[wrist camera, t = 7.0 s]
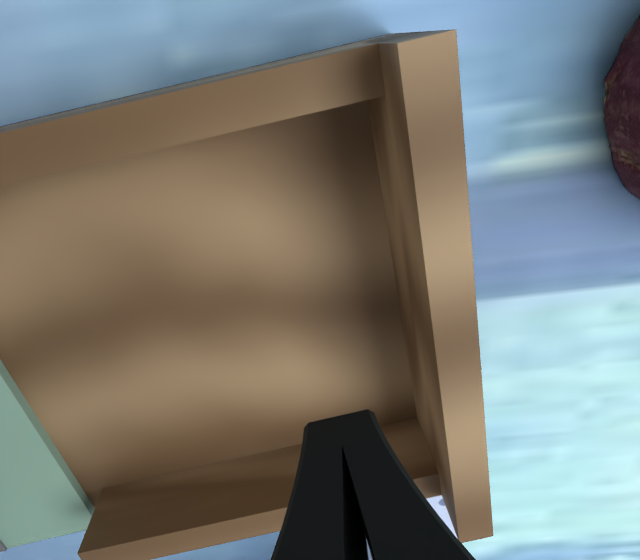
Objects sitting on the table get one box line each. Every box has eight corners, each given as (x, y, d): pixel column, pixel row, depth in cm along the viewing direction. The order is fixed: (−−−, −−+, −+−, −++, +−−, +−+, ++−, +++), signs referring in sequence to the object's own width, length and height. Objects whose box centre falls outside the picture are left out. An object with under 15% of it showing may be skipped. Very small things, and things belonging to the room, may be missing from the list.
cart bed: (440, 416, 22) (493, 536, 17) (103, 491, 22) (49, 633, 17) (390, 33, 15) (456, 28, 10) (-104, 151, 15) (-309, 211, 10)
